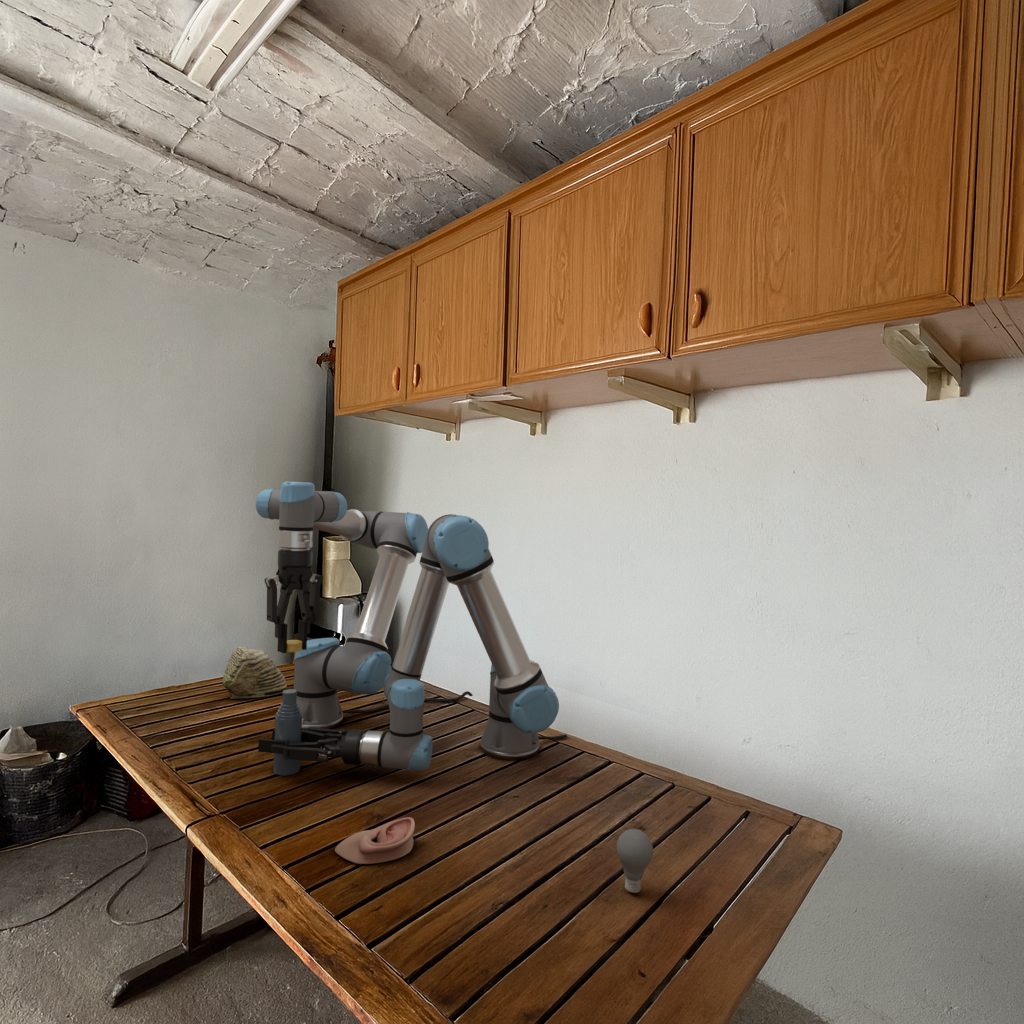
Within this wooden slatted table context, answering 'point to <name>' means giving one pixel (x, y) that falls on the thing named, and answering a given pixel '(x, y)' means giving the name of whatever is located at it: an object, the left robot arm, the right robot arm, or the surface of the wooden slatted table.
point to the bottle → (288, 731)
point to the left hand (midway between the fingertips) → (292, 650)
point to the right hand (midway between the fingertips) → (266, 739)
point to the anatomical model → (379, 843)
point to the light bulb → (634, 857)
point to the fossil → (252, 674)
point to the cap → (294, 645)
